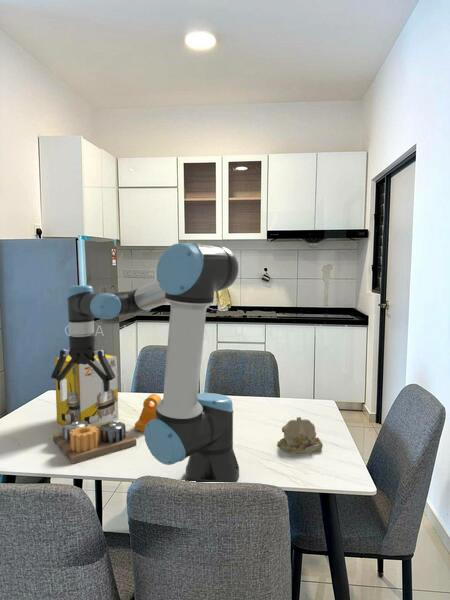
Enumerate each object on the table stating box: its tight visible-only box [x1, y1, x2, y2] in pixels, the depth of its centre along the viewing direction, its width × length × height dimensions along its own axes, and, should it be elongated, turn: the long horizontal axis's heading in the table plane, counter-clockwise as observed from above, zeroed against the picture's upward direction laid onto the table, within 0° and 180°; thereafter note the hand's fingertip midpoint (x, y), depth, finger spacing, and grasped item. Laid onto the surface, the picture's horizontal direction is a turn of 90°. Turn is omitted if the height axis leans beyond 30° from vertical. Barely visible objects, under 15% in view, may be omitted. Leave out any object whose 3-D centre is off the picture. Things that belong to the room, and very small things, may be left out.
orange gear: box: [70, 426, 98, 452], centre depth 128 cm, size 8×8×5 cm
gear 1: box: [61, 413, 88, 441], centre depth 135 cm, size 8×8×7 cm
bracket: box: [134, 393, 162, 433], centre depth 147 cm, size 11×7×12 cm, turn 82°
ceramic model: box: [277, 416, 324, 455], centre depth 131 cm, size 14×11×10 cm
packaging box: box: [54, 353, 119, 426], centre depth 154 cm, size 16×16×25 cm
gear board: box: [52, 421, 137, 465], centre depth 135 cm, size 21×21×6 cm
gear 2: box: [99, 421, 127, 444], centre depth 134 cm, size 8×8×5 cm
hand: (84, 400), depth 127 cm, fingers open, 13 cm apart
